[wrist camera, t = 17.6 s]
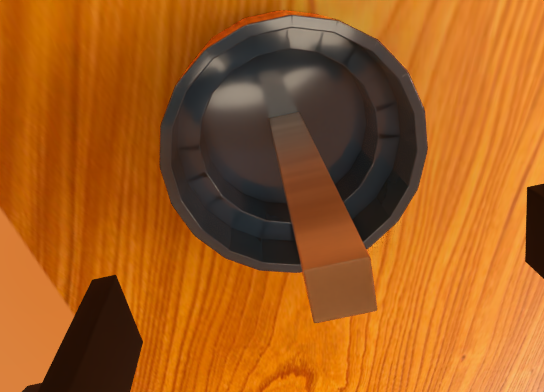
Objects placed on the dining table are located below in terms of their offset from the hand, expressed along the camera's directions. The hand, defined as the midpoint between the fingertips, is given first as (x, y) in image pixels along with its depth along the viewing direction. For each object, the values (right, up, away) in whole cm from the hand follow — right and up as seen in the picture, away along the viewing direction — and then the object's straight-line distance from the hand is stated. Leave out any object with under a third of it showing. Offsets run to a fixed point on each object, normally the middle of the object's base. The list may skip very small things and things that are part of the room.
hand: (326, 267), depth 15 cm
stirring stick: (-1, +7, +16) cm, 17 cm away
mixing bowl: (-1, +7, +16) cm, 18 cm away
